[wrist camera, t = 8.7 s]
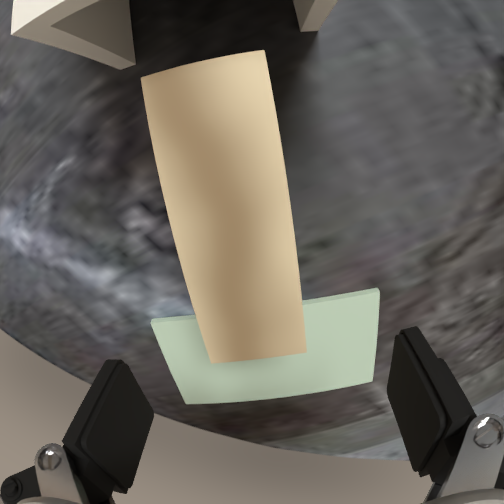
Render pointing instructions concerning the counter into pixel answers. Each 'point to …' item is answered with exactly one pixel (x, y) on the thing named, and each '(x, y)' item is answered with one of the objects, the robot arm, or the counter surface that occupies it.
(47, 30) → the block
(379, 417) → the counter surface
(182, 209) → the wooden block
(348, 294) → the mat
